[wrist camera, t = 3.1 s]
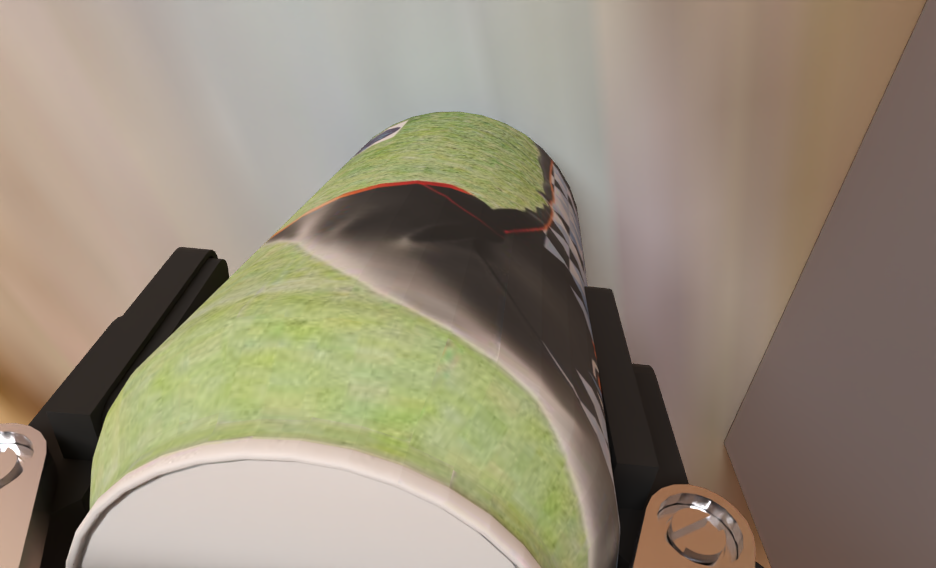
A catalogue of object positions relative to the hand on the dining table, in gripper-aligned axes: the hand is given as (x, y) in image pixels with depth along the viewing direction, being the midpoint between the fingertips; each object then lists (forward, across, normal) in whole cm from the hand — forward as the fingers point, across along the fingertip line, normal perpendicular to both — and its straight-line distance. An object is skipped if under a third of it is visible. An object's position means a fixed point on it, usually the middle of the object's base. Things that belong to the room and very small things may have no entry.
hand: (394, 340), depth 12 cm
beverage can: (+6, 0, 0) cm, 6 cm away
